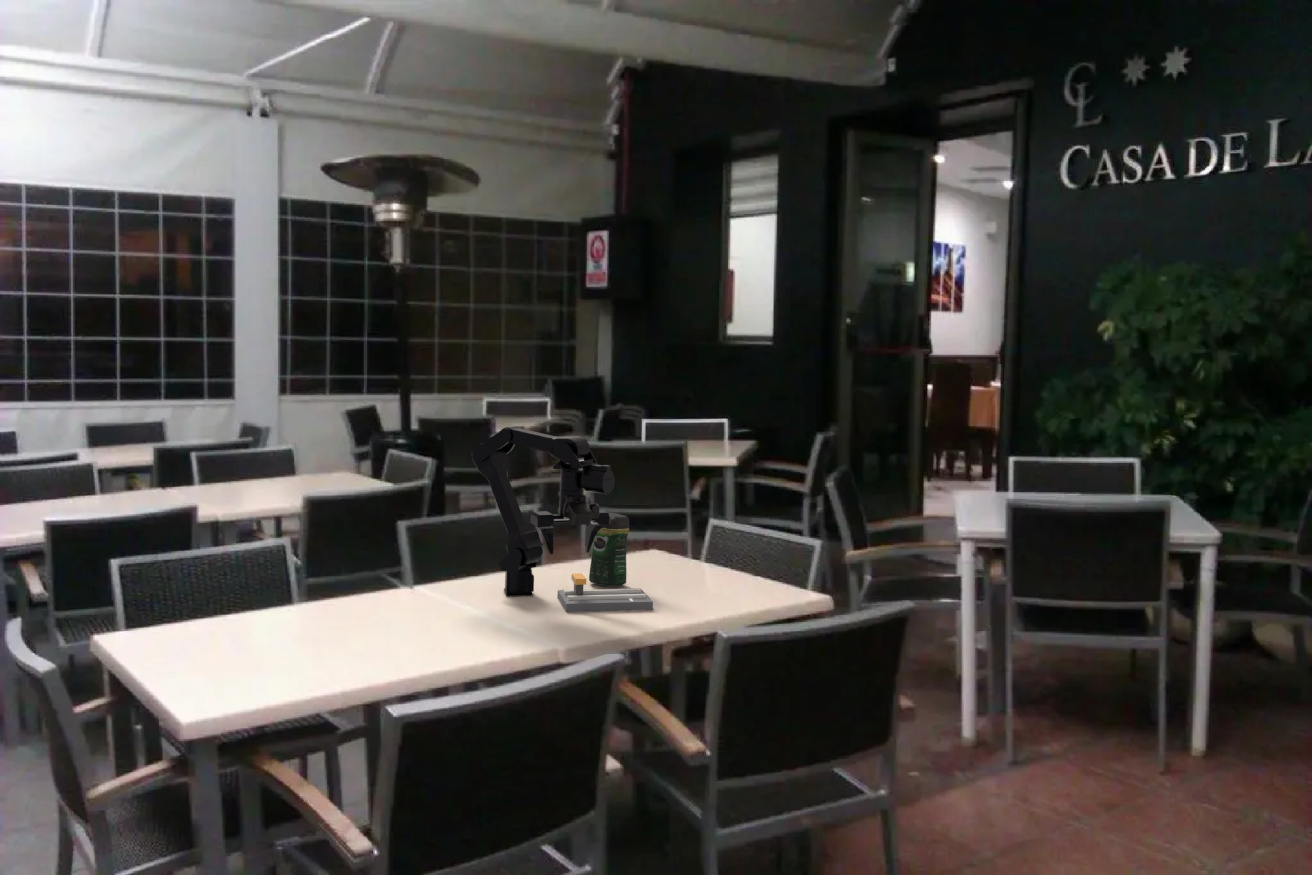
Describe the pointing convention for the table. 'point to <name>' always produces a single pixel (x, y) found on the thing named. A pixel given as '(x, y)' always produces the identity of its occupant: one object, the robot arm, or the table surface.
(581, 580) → the fader
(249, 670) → the table surface
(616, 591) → the console
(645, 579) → the table surface
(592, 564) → the coffee jar
